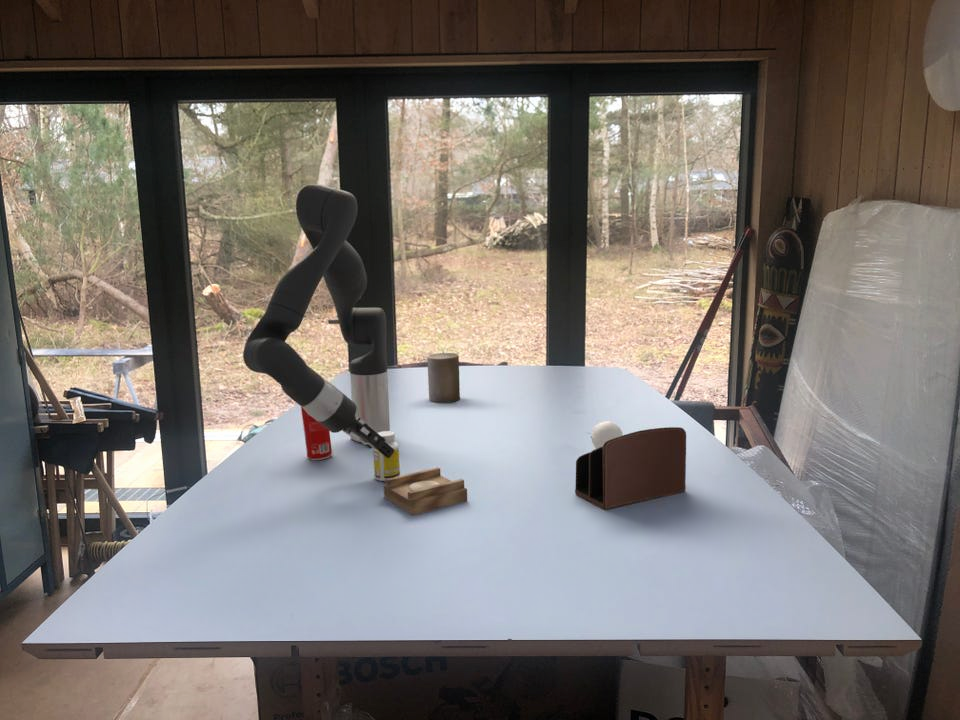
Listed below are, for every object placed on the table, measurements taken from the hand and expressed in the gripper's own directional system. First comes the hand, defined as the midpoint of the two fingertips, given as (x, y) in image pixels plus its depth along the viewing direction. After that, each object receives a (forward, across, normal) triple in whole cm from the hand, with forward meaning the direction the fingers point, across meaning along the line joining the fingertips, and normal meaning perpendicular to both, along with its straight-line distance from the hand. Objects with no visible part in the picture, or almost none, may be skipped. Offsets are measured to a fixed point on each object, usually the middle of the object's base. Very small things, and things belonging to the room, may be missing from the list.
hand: (381, 449), depth 161 cm
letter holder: (+30, -38, -20) cm, 52 cm away
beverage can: (+1, +23, +8) cm, 24 cm away
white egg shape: (+40, -14, -30) cm, 52 cm away
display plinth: (+5, -16, +4) cm, 17 cm away
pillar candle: (+39, +54, -29) cm, 73 cm away
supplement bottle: (+5, 0, +4) cm, 7 cm away
